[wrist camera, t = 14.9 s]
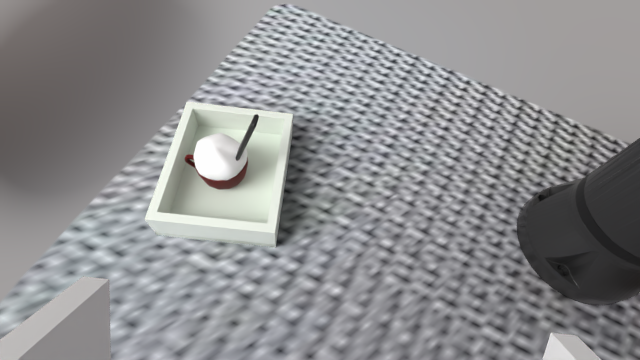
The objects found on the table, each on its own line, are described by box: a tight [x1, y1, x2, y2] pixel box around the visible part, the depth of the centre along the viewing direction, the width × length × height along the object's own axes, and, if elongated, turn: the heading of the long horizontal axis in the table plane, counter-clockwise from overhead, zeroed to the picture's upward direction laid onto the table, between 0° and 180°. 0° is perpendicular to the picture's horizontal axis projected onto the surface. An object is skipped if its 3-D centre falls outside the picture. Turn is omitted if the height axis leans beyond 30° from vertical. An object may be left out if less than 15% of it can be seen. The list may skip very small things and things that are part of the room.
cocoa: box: [185, 114, 259, 190], centre depth 41 cm, size 10×6×12 cm, turn 61°
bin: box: [145, 102, 293, 248], centre depth 45 cm, size 14×17×4 cm
